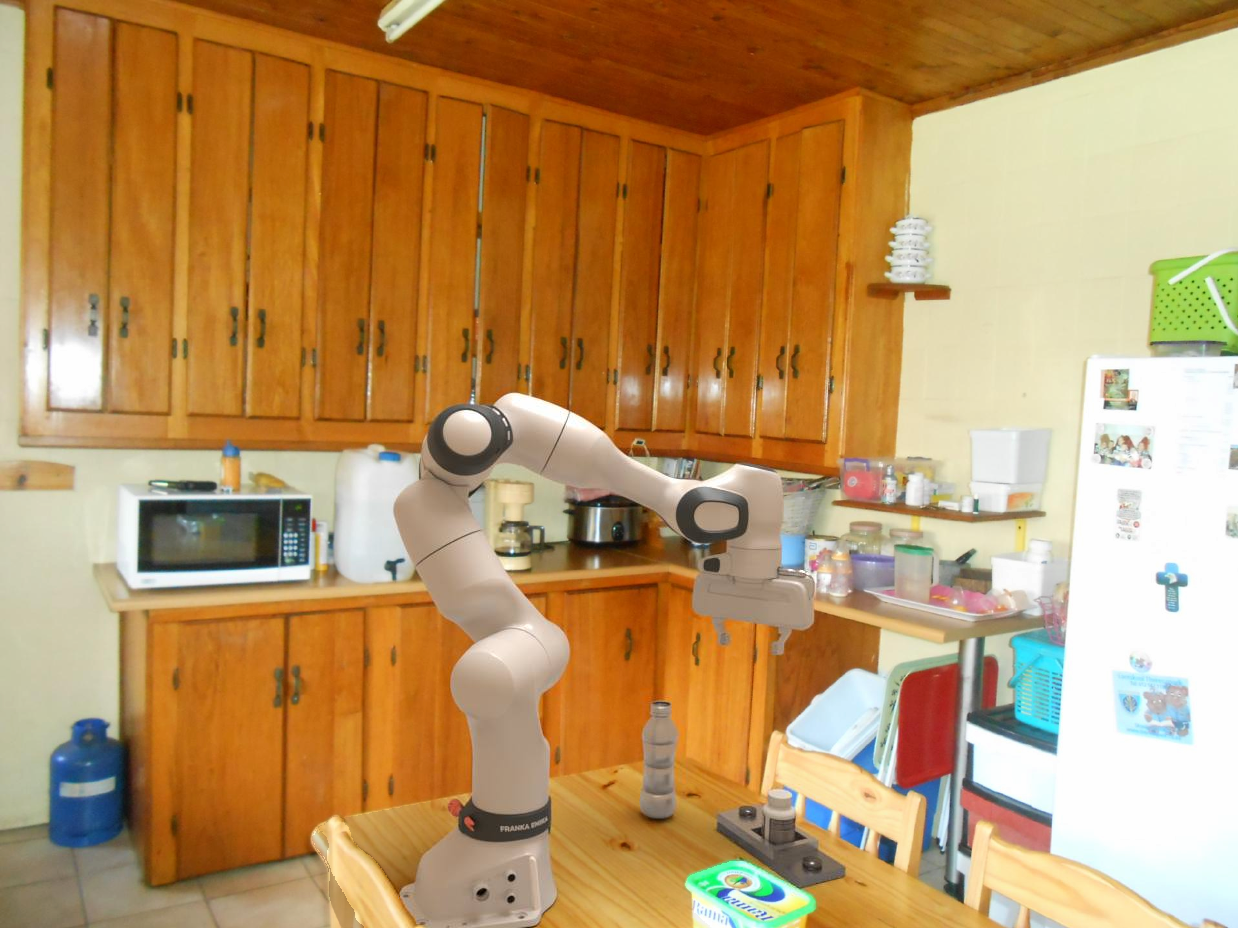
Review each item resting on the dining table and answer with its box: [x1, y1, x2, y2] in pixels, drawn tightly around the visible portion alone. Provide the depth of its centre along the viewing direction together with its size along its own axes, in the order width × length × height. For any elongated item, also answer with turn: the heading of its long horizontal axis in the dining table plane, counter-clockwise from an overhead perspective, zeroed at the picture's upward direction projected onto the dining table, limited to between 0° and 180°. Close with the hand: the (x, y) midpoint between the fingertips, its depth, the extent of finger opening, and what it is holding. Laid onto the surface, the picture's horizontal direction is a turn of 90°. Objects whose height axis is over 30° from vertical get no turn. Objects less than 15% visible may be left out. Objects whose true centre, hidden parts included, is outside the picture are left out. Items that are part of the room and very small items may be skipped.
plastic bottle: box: [639, 700, 679, 820], centre depth 164 cm, size 6×7×20 cm
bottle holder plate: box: [716, 803, 846, 889], centre depth 152 cm, size 9×22×4 cm, turn 28°
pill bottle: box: [761, 788, 797, 846], centre depth 152 cm, size 5×5×10 cm
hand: (750, 649), depth 151 cm, fingers open, 8 cm apart
